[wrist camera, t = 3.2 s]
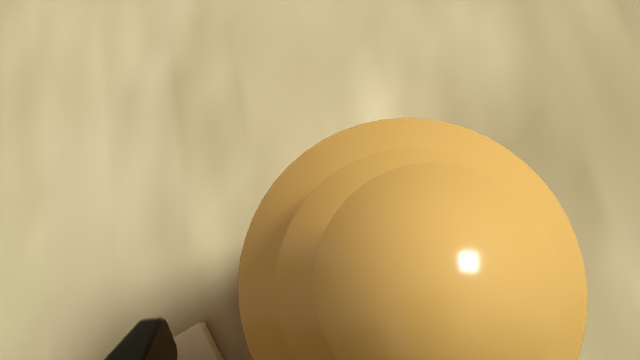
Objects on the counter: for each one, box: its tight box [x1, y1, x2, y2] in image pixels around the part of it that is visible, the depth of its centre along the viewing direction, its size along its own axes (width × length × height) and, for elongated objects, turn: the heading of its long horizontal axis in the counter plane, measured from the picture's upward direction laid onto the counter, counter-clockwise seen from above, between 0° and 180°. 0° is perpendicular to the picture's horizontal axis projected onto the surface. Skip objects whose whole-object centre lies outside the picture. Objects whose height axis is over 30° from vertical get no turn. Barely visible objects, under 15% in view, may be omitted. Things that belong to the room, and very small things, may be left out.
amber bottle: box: [238, 118, 588, 360], centre depth 12 cm, size 6×6×13 cm
